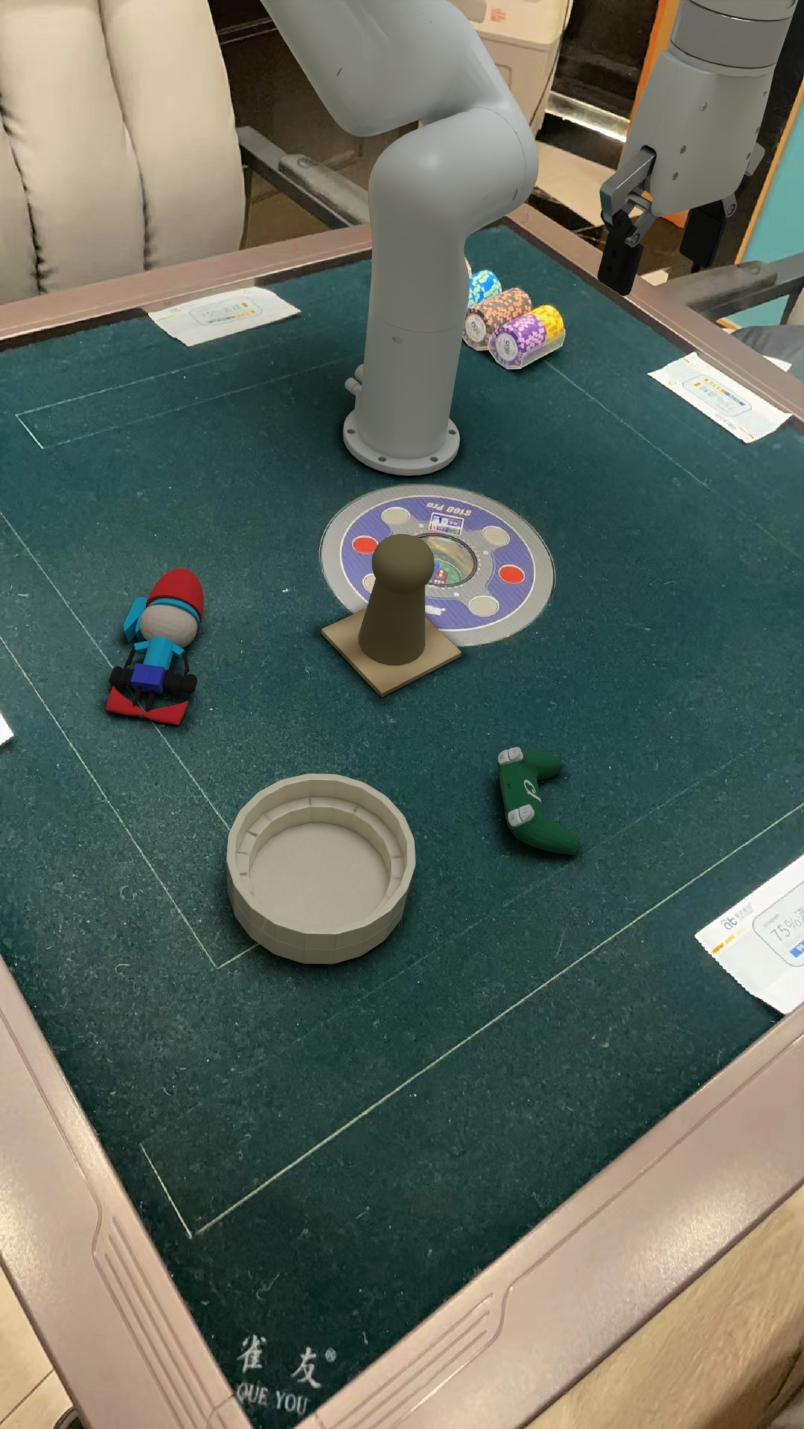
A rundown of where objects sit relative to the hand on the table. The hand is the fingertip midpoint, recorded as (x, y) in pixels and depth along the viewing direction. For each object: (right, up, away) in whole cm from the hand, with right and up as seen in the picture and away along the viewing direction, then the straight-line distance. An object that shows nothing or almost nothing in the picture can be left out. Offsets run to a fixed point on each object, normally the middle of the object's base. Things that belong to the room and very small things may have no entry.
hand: (654, 273), depth 84 cm
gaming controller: (-10, -43, 0) cm, 44 cm away
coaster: (-21, -29, +10) cm, 37 cm away
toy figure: (-41, -31, +6) cm, 51 cm away
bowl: (-27, -48, -7) cm, 55 cm away
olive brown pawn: (-21, -29, +9) cm, 37 cm away
